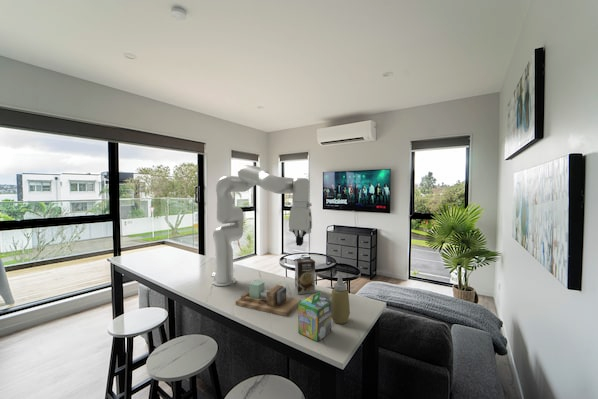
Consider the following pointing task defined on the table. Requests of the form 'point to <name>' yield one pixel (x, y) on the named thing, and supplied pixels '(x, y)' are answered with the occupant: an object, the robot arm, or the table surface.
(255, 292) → the spacer block
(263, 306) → the jig
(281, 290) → the grey rectangular box
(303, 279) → the coffee box
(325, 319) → the chalk box
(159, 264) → the table surface
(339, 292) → the squeeze bottle
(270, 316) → the table surface
